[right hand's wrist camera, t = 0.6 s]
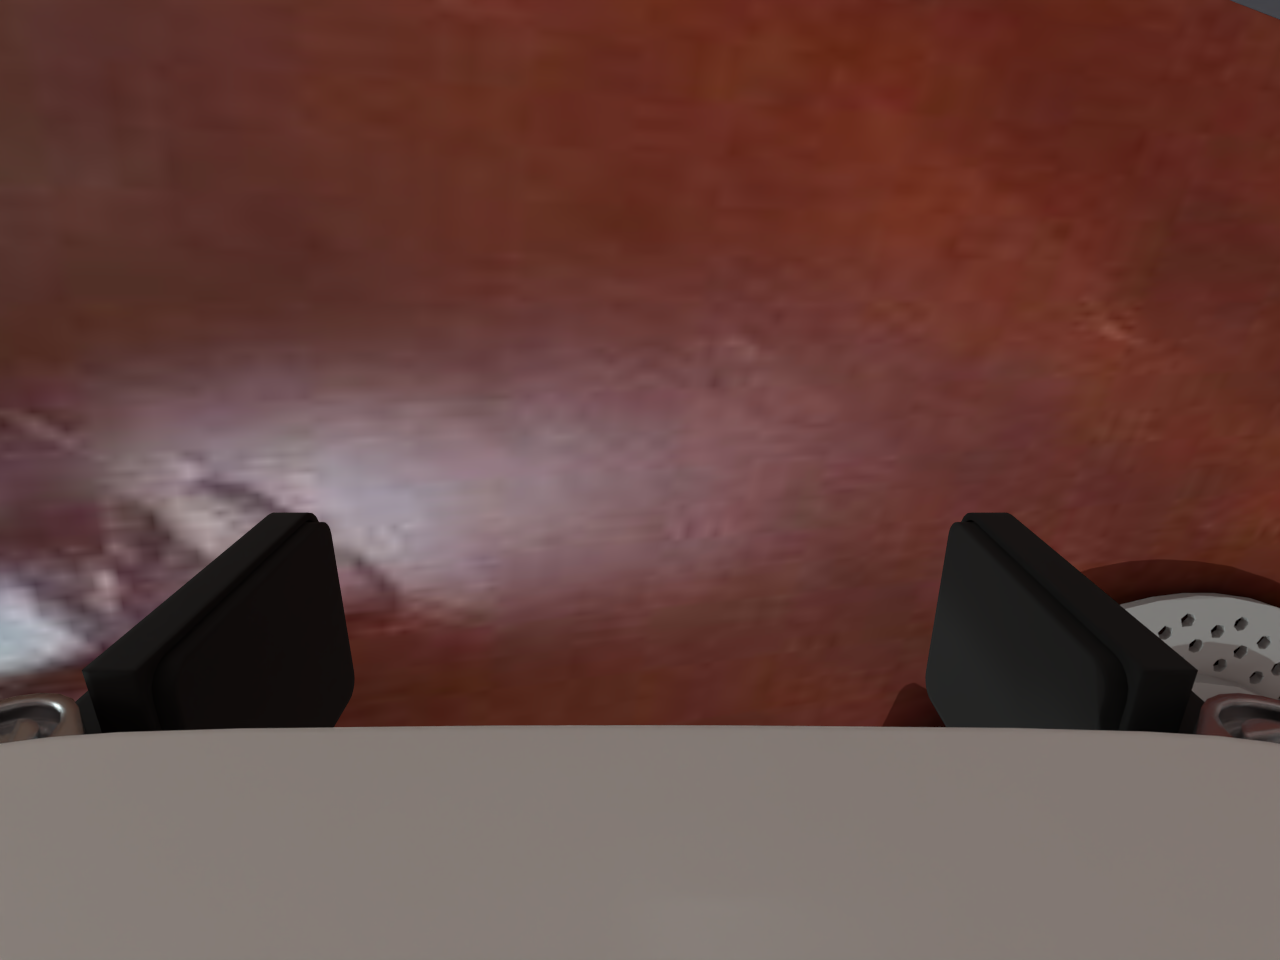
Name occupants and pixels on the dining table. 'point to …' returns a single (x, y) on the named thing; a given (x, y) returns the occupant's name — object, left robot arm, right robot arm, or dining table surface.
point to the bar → (1263, 6)
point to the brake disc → (1219, 639)
